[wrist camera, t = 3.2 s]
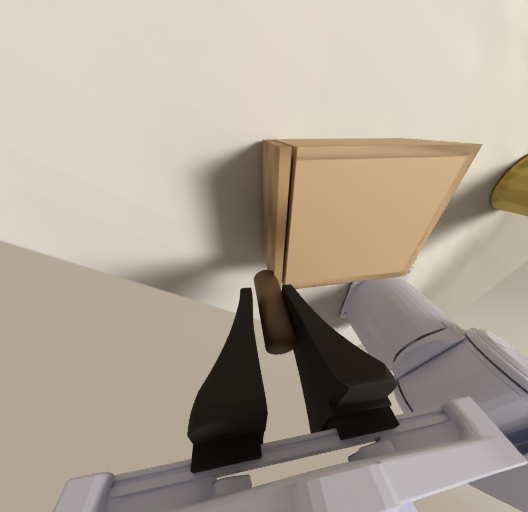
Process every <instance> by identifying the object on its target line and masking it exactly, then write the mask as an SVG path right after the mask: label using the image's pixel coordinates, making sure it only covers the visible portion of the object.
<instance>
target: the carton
mask: <svg viewBox="0 0 528 512" xmlns="http://www.w3.org/2000/svg"><path fill="white" fill-rule="evenodd" d="M274 141H276V142H279V143H282V144H284V145H287V146H290V147H292V152H291V165H290V179H289V192H288V205H287V218H286V232H285V245H284V258H283V271H282V284H283V285H288V284H291V285H292V286H293V287H294V288H295V289H299V288H308V287H316V286H325V285H334V284H342V283H351V282H359V281H368V280H376V279H385V278H394V277H402V276H406V275H407V273H408V272H409V270H410V268H411V267H412V265H413V263H414V261H415V260H416V258H417V256H418V254H419V253H420V251H421V249H422V248H423V246H424V244H425V242H426V241H427V239H428V237H429V236H430V234H431V232H432V230H433V229H434V227H435V225H436V223H437V222H438V220H439V218H440V217H441V215H442V213H443V211H444V210H445V208H446V206H447V205H448V203H449V201H450V199H451V198H452V196H453V194H454V192H455V191H456V189H457V187H458V186H459V184H460V182H461V180H462V179H463V177H464V175H465V173H466V172H467V170H468V168H469V167H470V165H471V163H472V161H473V160H474V158H475V156H476V155H477V153H478V151H479V149H480V148H481V146H482V144H472V143H459V142H445V141H432V140H418V139H405V138H387V139H275V140H274Z"/></svg>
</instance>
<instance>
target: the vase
mask: <svg viewBox="0 0 528 512" xmlns="http://www.w3.org/2000/svg"><path fill="white" fill-rule="evenodd" d="M491 204H492V206H493V207H494V208H496V209H499V210H503V211H509V212H513V213H517V214H521V215H525V216H528V156H526V157H525V158H523V159H522V160H520V161H519V162H518V163H516V164H515V165H514V166H513V167H512V168H511V169H509V170H508V171H507V172H506V174H505V175H504V176H503V177H502V178H501V180H500V181H499V182H498V184H497V185H496V187H495V189H494V191H493V193H492V196H491Z"/></svg>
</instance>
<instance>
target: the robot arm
mask: <svg viewBox="0 0 528 512" xmlns="http://www.w3.org/2000/svg"><path fill="white" fill-rule="evenodd" d="M412 269H413V266H412V267H411V268H410V270H409V272H408V273H407V275H406V276H402V277H394V278H385V279H376V280H368V281H359V282H352V284H351V287H350V289H349V292H348V295H347V297H346V300H345V303H344V305H343V308H342V311H341V314H340V318H341V319H346V318H347V320H348V321H349V323H350V325H351V326H352V328H353V329H354V331H355V333H356V334H357V336H358V338H359V339H360V341H361V342H362V344H363V346H364V347H365V349H366V351H367V352H368V354H367V353H366V352H364V351H363V350H361V349H360V348H358V347H357V346H355V345H354V344H352V343H351V342H350V341H348V340H347V339H346V338H344V337H343V336H341V335H340V334H339V333H338V332H336V331H335V330H334V329H333V328H332V327H330V326H329V325H328V324H327V323H326V322H325V321H324V320H323V319H322V318H321V317H320V316H319V315H318V314H317V313H316V312H315V311H314V310H313V309H312V308H311V307H310V306H309V305H308V304H307V303H306V302H305V300H304V299H303V298H302V297H301V296H300V295H299V293H298V292H297V291H296V290H295V288H294V287H293V286H292V285H291V284H288V285H282V295H283V298H284V301H285V304H286V307H287V310H288V313H289V316H290V319H291V322H292V325H293V329H294V332H295V335H296V338H297V341H298V344H297V346H296V347H295V348H294V349H293V351H294V354H295V358H296V362H297V367H298V371H299V375H300V380H301V385H302V389H303V394H304V398H305V404H306V409H307V414H308V420H309V425H310V431H311V434H307V435H302V436H298V437H293V438H288V439H283V440H279V441H274V442H269V443H265V444H263V436H264V431H265V429H266V421H267V415H268V412H267V405H266V397H265V392H264V386H263V381H262V375H261V370H260V364H259V358H258V352H257V346H256V340H255V333H254V326H253V297H252V291H251V288H242V289H241V290H240V300H239V305H238V309H237V313H236V316H235V319H234V322H233V325H232V328H231V331H230V333H229V336H228V338H227V341H226V343H225V345H224V347H223V349H222V351H221V353H220V355H219V357H218V359H217V361H216V363H215V365H214V367H213V368H212V370H211V372H210V374H209V375H208V377H207V379H206V380H205V382H204V383H203V385H202V387H201V388H200V390H199V391H198V394H197V396H196V399H195V402H194V404H193V407H192V411H191V414H190V419H189V425H188V433H187V435H188V438H189V439H190V440H191V442H192V443H193V452H192V459H190V460H184V461H180V462H175V463H170V464H165V465H161V466H156V467H151V468H147V469H142V470H137V471H132V472H128V473H123V474H118V475H114V474H112V473H110V472H101V473H96V474H91V475H86V476H81V477H76V478H71V479H70V480H68V481H67V482H66V484H65V486H64V489H63V491H62V493H61V495H60V497H59V500H58V502H57V504H56V506H55V508H54V511H53V512H417V510H416V508H415V506H414V504H413V502H412V501H415V500H418V499H421V498H424V497H427V496H429V495H433V494H436V493H439V492H442V491H444V490H448V489H451V488H453V487H457V486H460V485H463V484H465V483H468V484H470V485H471V486H473V487H475V488H477V489H479V490H481V491H483V492H484V493H486V494H488V495H490V496H492V497H494V498H496V499H499V500H501V501H503V502H505V503H507V504H509V505H511V506H513V507H515V508H517V509H519V510H521V511H523V512H528V358H527V357H525V356H524V355H522V354H521V353H520V352H519V351H517V350H516V349H514V348H513V347H512V346H510V345H509V344H507V343H506V342H504V341H503V340H501V339H500V338H498V337H497V336H495V335H493V334H492V333H490V332H488V331H485V330H479V329H475V328H470V329H469V330H464V329H462V328H460V327H459V326H458V325H457V324H456V323H455V322H453V321H452V320H451V319H450V318H449V317H448V316H447V315H445V314H444V313H443V312H442V311H441V310H440V309H439V308H437V307H436V306H435V305H434V304H433V303H432V302H430V301H429V300H428V299H427V298H426V297H425V296H424V295H422V294H421V293H420V292H419V291H418V290H417V289H416V288H414V287H413V286H412V285H411V284H410V283H409V282H407V281H406V280H407V278H408V276H409V275H410V273H411V271H412ZM390 370H391V371H392V372H393V373H394V376H393V375H392V374H391V372H390ZM392 391H394V394H395V397H396V399H397V402H398V404H399V405H400V407H401V409H402V411H403V412H404V414H401V415H397V416H395V415H394V413H393V412H392V410H391V408H390V406H391V402H390V400H389V399H388V397H387V396H388V395H389V394H390V393H391V392H392ZM373 441H376V442H375V443H373V444H370V445H367V446H364V447H361V448H360V449H359V451H357V452H356V453H354V454H352V455H351V456H349V457H348V460H349V462H347V463H343V464H338V465H334V466H329V467H326V468H321V469H318V470H313V471H310V472H306V473H302V474H299V475H295V476H291V477H288V478H284V479H281V480H277V481H274V482H270V483H267V484H263V485H260V486H256V487H253V488H252V482H251V480H250V476H249V475H240V476H232V477H226V478H222V479H219V480H217V479H216V478H218V477H222V476H226V475H230V474H235V473H239V472H244V471H248V470H252V469H257V468H261V467H265V466H270V465H274V464H278V463H283V462H287V461H291V460H295V459H300V458H304V457H308V456H313V455H317V454H321V453H326V452H330V451H335V450H338V449H343V448H348V447H352V446H356V445H361V444H365V443H369V442H373Z"/></svg>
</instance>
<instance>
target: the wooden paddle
mask: <svg viewBox="0 0 528 512" xmlns="http://www.w3.org/2000/svg"><path fill="white" fill-rule="evenodd" d="M291 152H292V147H290V146H287V145H284V144H282V143H279V142H276V141H273V140H263V255H264V258H265V262H266V265H267V269H268V270H262V271H260V272H258V273H257V274H256V275H255V277H254V283H255V289H256V295H257V301H258V307H259V313H260V319H261V324H262V330H263V336H264V342H265V348H266V351H267V352H268V353H270V354H283V353H287V352H289V351H291V350H293V349H294V348H295V347H296V346H297V344H298V341H297V338H296V335H295V332H294V329H293V325H292V322H291V319H290V316H289V313H288V310H287V307H286V304H285V301H284V298H283V295H282V291H281V285H282V271H283V258H284V245H285V232H286V218H287V205H288V192H289V179H290V165H291Z"/></svg>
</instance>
